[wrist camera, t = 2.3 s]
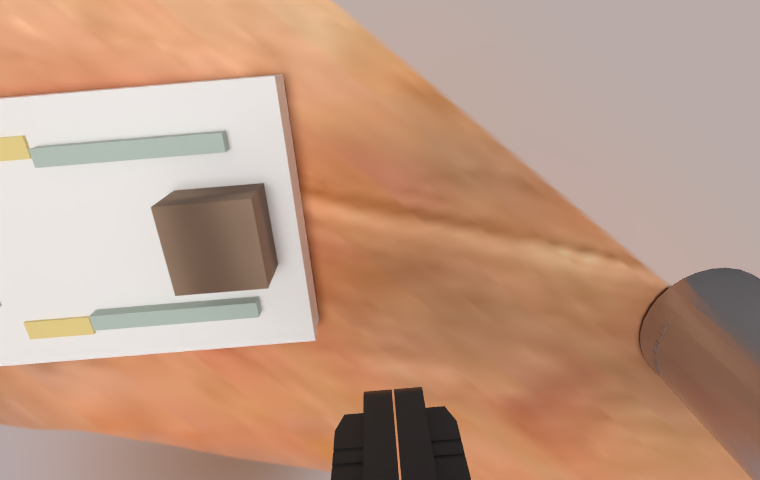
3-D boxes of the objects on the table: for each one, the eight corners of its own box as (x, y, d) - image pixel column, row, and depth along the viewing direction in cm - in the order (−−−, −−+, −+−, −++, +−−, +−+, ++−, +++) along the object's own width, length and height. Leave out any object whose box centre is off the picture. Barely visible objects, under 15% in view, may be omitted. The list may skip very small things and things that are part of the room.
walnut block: (263, 182, 26) (251, 198, 23) (278, 264, 28) (268, 288, 25) (174, 190, 26) (150, 207, 23) (194, 271, 28) (175, 295, 25)
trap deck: (282, 73, 26) (271, 76, 23) (319, 319, 32) (314, 348, 29) (-178, 112, 26) (-251, 120, 23) (-56, 350, 32) (-101, 381, 29)
